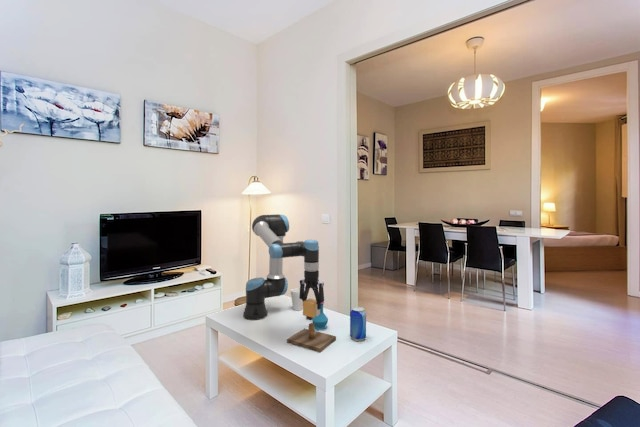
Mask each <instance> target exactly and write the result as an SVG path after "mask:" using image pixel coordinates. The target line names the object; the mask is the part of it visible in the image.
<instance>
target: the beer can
mask: <svg viewBox="0 0 640 427" xmlns="http://www.w3.org/2000/svg"><path fill="white" fill-rule="evenodd" d="M349 336H350V338H351V340H353V341H355V342H363V341H365V339H366V337H367V312H366V310H365V308H364V307H363V306H352V308H351V310H350V312H349Z"/></svg>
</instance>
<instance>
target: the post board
mask: <svg viewBox="0 0 640 427" xmlns="http://www.w3.org/2000/svg"><path fill="white" fill-rule="evenodd" d="M336 340H337V336H336V335H332V334H328V333H324V332H321V331H317V330H316V329H315V324H314V323H313V322H312V323H311V322H310V323H308V328H306V327H305V328H302V329H301V330H299V331H298V332H296V333H294V334H293V335H292V336H290V337H288V338H286V343H287V344H289V345H293V346H297V347H301V348H302V349H303V348H304V349H306V350H309V351H314V352H317V353H322V352H323V351H324V350H325V349H326V348H328V347H329V346H330V345H332V344H333V343H334V342H335V341H336Z"/></svg>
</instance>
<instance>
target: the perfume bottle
mask: <svg viewBox="0 0 640 427" xmlns="http://www.w3.org/2000/svg"><path fill="white" fill-rule="evenodd" d="M324 304H325V301H324V302H322V303H321V309H320V315H318V316H316V317H314V318H312V320H311V321H312V323H314V324H315V330H318V331H319V330H325V329H326V328H327V324H328V322H329V318H328V317H327V315H326V314H325V313H324Z"/></svg>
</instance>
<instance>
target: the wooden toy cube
mask: <svg viewBox="0 0 640 427" xmlns="http://www.w3.org/2000/svg"><path fill="white" fill-rule="evenodd" d="M316 303H317V301H316V298H307V299H306V301H303V309H302V316H305V317H306V316H308V317H313V318H314V317H316Z"/></svg>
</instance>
